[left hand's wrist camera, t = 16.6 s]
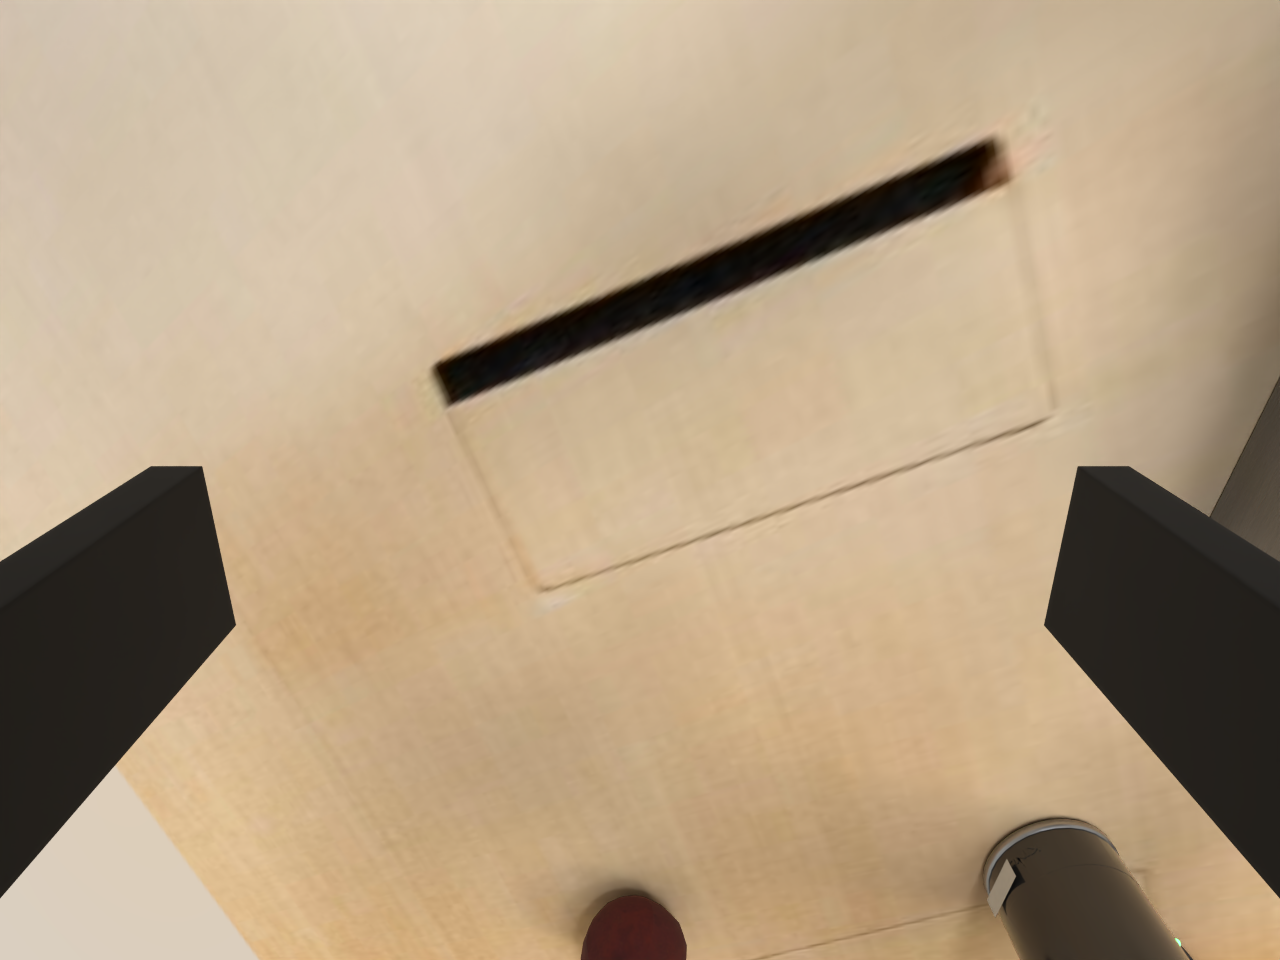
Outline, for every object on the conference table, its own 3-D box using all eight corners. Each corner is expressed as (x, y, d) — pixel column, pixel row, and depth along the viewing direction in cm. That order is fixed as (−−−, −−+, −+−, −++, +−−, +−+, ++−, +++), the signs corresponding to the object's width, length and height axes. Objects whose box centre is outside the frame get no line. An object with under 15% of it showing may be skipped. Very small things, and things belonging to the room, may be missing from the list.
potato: (605, 958, 62) (601, 1052, 55) (569, 886, 59) (560, 977, 53) (697, 936, 61) (704, 1029, 55) (665, 862, 58) (668, 951, 52)
